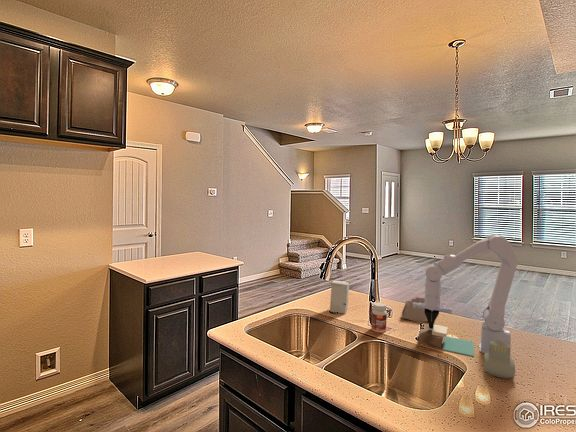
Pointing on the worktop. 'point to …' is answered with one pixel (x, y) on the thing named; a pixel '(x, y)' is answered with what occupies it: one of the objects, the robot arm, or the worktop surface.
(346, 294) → the skincare box
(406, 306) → the pumice stone
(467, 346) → the mat
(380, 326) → the pill bottle
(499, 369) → the air freshener
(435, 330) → the white flat block
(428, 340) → the deck
